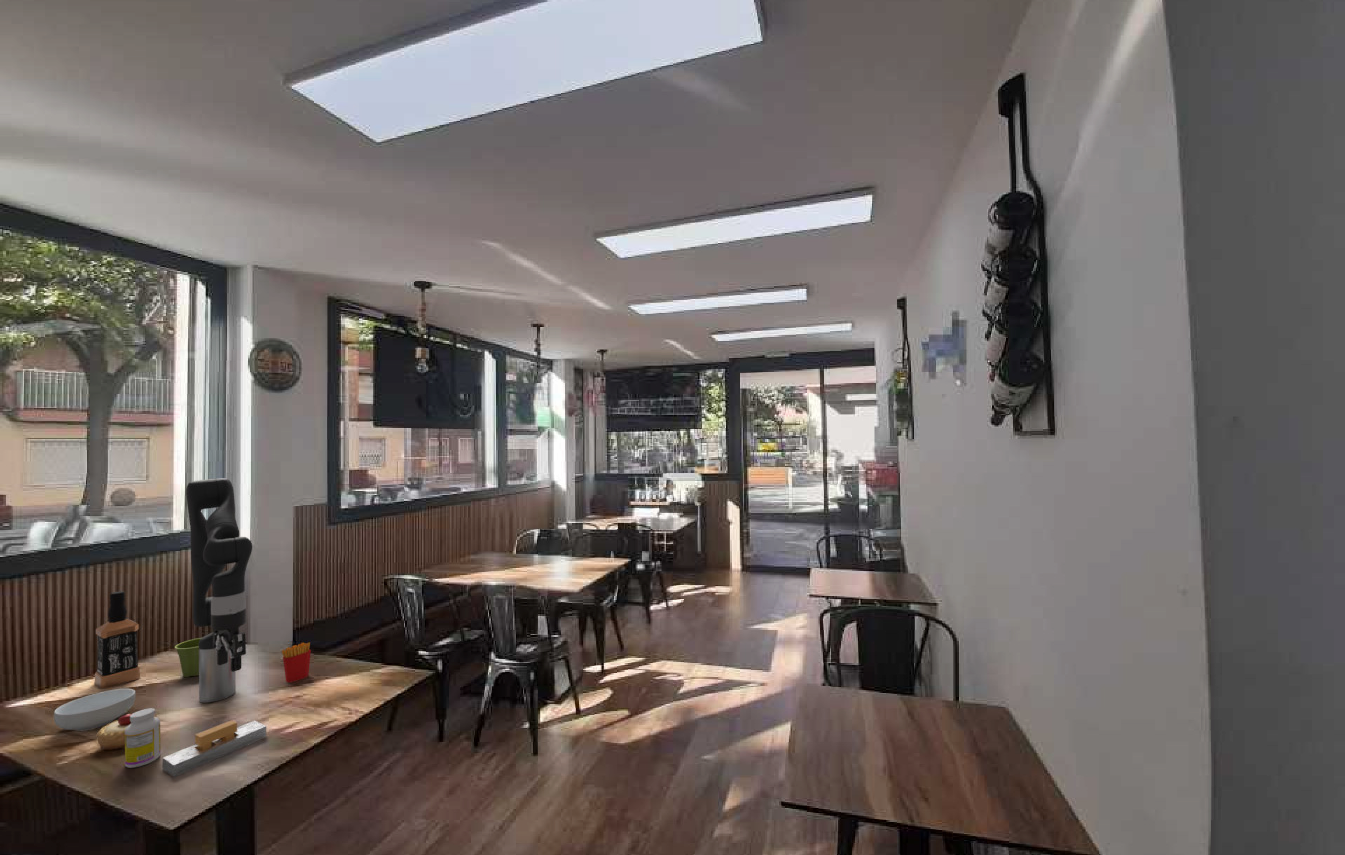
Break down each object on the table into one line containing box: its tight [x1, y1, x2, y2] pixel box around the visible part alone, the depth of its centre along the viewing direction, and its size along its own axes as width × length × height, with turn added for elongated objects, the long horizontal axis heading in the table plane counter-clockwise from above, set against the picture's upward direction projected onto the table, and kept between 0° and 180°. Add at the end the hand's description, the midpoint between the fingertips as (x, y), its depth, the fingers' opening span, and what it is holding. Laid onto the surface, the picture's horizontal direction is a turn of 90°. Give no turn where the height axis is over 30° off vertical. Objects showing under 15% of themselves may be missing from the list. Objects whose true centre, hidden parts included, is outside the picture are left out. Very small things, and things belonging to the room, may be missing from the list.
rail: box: [162, 720, 267, 778], centre depth 142 cm, size 7×20×3 cm, turn 151°
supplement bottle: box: [124, 707, 162, 769], centre depth 139 cm, size 7×7×13 cm
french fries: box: [281, 642, 312, 683], centre depth 187 cm, size 8×4×12 cm, turn 147°
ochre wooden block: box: [194, 719, 238, 751], centre depth 142 cm, size 3×8×6 cm, turn 151°
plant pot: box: [174, 637, 202, 678], centre depth 194 cm, size 12×12×11 cm
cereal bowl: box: [53, 688, 136, 732], centre depth 159 cm, size 17×17×7 cm
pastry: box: [96, 708, 157, 751], centre depth 149 cm, size 12×12×9 cm
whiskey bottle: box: [94, 590, 141, 690], centre depth 190 cm, size 10×10×32 cm
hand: (229, 667), depth 147 cm, fingers open, 8 cm apart
